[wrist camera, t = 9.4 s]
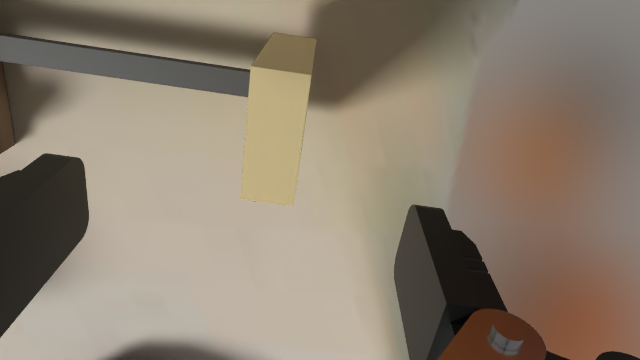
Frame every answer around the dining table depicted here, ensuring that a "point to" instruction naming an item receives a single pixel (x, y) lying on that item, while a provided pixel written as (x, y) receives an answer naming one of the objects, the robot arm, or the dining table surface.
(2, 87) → the wooden lane
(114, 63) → the multicoloured piece
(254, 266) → the dining table surface
